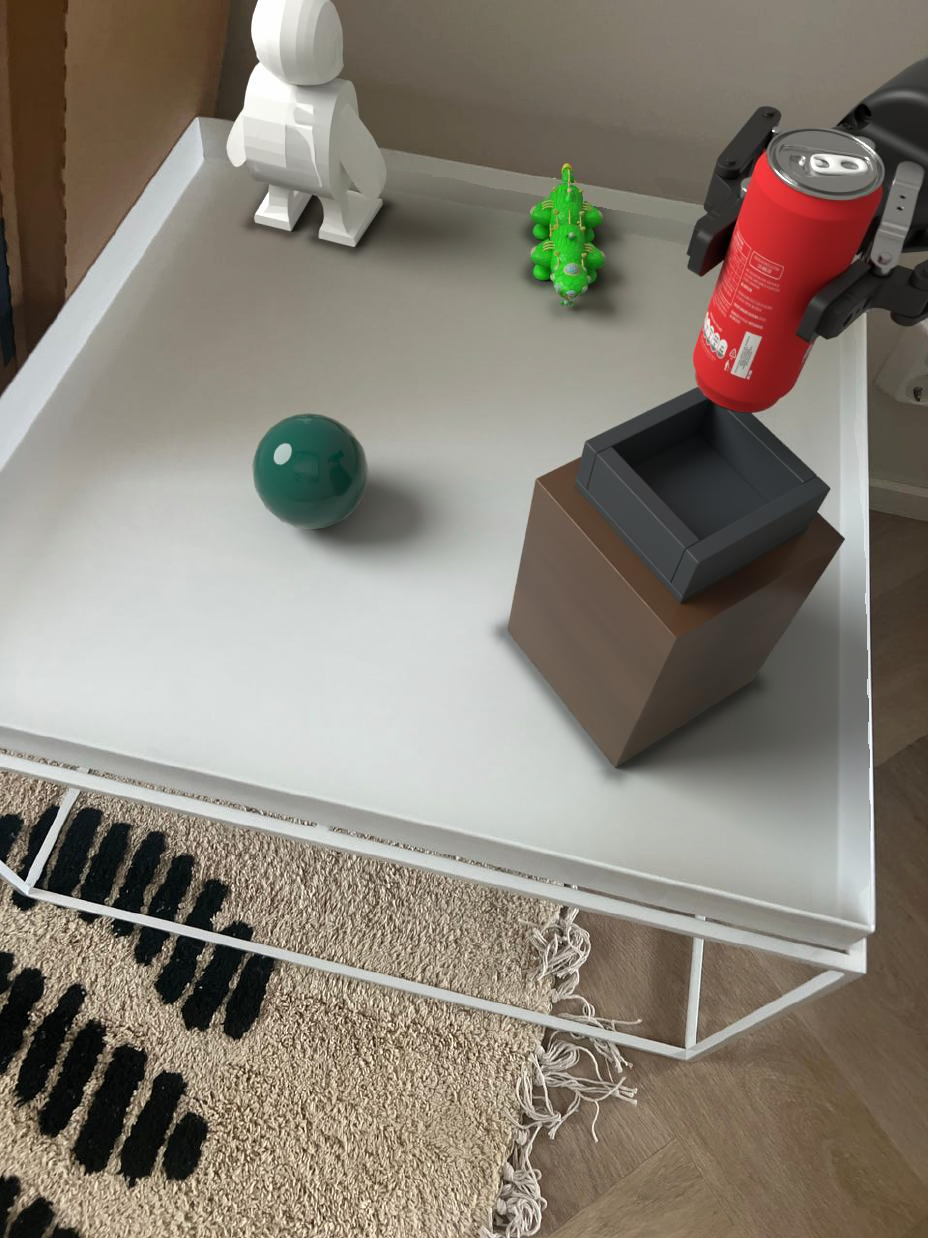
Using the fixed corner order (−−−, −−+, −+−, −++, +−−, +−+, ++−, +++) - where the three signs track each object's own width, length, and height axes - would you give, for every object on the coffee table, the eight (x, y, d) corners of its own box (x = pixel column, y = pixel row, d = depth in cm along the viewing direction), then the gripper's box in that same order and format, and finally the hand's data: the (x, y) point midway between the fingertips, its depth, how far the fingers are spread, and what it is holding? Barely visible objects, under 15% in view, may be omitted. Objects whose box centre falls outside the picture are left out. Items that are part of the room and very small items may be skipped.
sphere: (256, 552, 69) (241, 478, 62) (262, 465, 73) (249, 387, 67) (369, 551, 70) (367, 478, 63) (369, 465, 74) (367, 388, 67)
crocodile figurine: (527, 319, 84) (533, 278, 80) (527, 190, 93) (532, 148, 90) (604, 325, 84) (614, 284, 80) (596, 195, 93) (604, 153, 90)
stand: (641, 556, 71) (700, 397, 57) (753, 680, 66) (846, 538, 53) (506, 630, 67) (535, 478, 53) (614, 768, 62) (676, 639, 48)
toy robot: (401, 208, 91) (403, -27, 74) (369, 268, 86) (363, 32, 69) (261, 174, 92) (231, -64, 75) (222, 231, 87) (180, -9, 70)
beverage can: (683, 341, 50) (753, 117, 40) (782, 348, 51) (878, 126, 40) (692, 415, 48) (770, 195, 38) (797, 422, 48) (903, 205, 38)
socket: (697, 423, 56) (714, 377, 53) (806, 531, 53) (831, 488, 50) (573, 485, 53) (584, 440, 50) (680, 604, 50) (698, 563, 47)
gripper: (850, -3, 48) (639, 132, 41) (1126, 126, 43) (940, 303, 36) (798, 141, 55) (607, 278, 48) (1034, 266, 50) (860, 440, 43)
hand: (753, 288), depth 42 cm, fingers closed on beverage can, 5 cm apart
